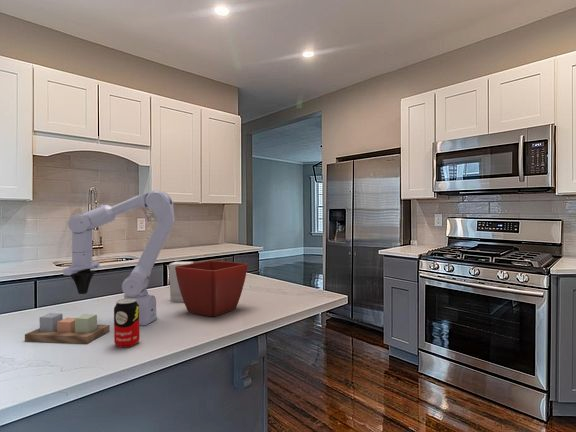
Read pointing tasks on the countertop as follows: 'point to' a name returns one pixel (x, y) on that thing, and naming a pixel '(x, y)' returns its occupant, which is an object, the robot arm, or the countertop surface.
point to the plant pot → (211, 286)
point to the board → (67, 336)
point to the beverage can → (126, 322)
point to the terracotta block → (66, 325)
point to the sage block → (85, 323)
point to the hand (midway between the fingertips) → (82, 293)
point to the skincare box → (175, 282)
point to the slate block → (50, 322)
